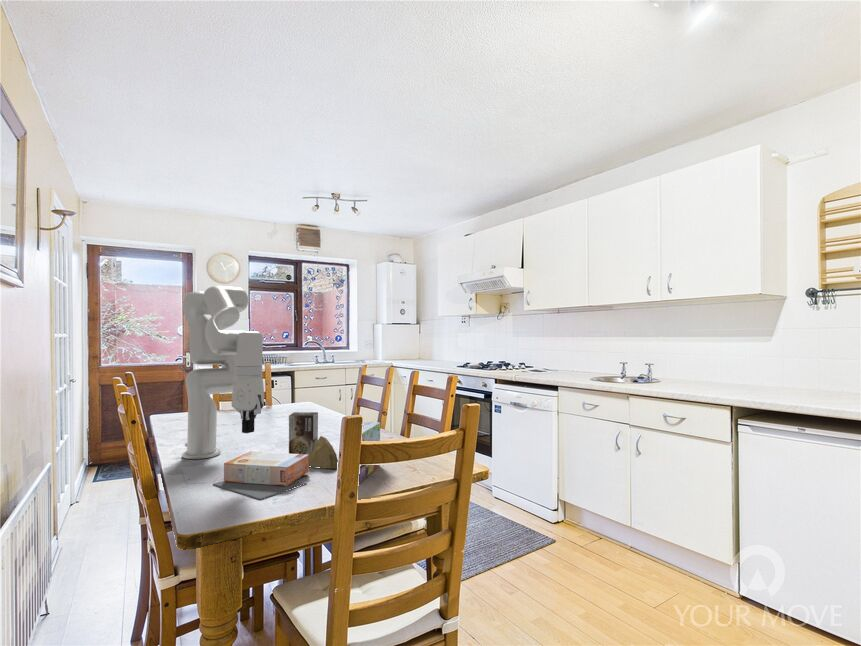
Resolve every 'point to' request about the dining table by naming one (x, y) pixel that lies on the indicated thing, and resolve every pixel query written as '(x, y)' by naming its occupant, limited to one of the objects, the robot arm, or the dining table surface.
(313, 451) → the rock
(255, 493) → the mat
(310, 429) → the coffee box
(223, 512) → the dining table surface
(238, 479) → the cracker box
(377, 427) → the snack box
